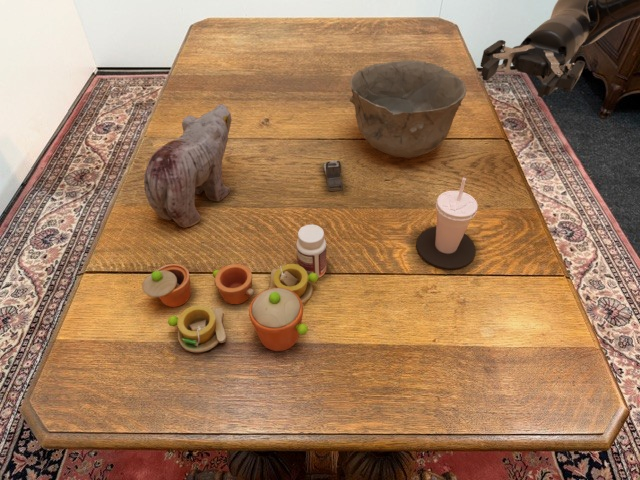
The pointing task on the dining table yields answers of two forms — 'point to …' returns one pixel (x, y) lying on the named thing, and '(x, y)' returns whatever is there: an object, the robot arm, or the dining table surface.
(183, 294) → the toy tea set
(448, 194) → the smoothie
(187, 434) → the dining table surface
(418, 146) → the bowl
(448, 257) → the coaster
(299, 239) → the pill bottle
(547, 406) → the dining table surface
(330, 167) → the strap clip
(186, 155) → the sculpture
